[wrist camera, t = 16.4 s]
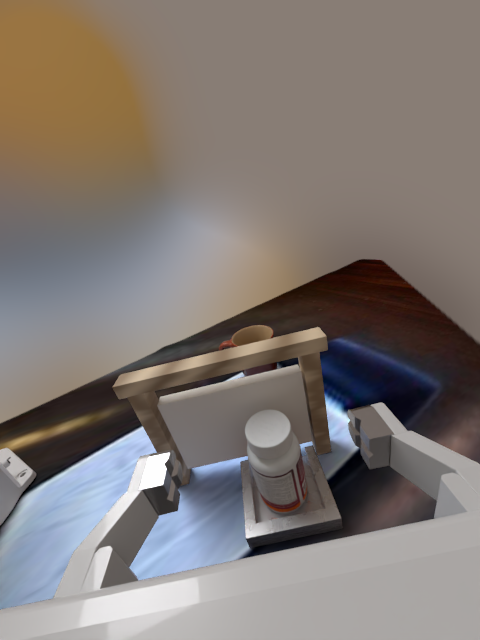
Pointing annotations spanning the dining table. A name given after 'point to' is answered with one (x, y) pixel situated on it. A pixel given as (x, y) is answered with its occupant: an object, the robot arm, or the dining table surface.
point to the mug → (248, 337)
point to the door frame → (223, 362)
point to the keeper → (305, 521)
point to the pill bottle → (276, 461)
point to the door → (232, 414)
